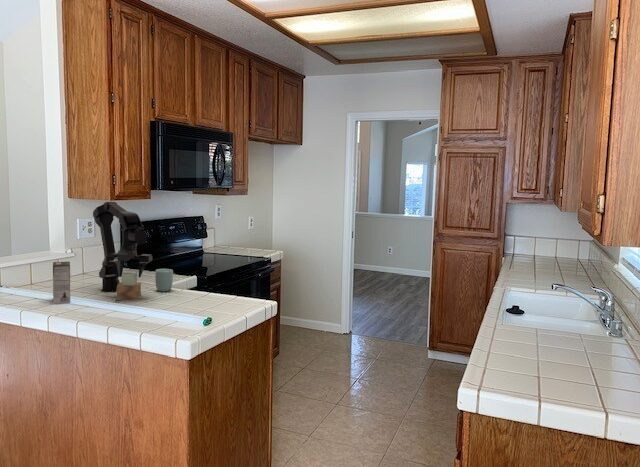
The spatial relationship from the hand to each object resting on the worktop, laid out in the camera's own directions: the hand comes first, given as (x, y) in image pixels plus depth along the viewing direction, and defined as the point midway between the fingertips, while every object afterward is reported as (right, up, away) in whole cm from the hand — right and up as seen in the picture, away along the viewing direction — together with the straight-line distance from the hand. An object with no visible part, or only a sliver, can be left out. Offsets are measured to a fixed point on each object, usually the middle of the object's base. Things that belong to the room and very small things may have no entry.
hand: (129, 276), depth 215 cm
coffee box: (-24, -9, -11) cm, 28 cm away
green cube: (0, -3, +1) cm, 3 cm away
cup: (+10, -8, +16) cm, 21 cm away
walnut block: (-1, -9, +1) cm, 9 cm away
